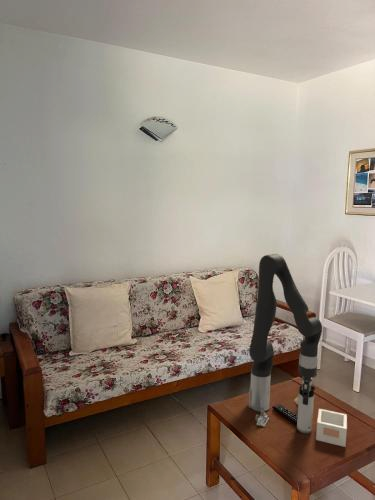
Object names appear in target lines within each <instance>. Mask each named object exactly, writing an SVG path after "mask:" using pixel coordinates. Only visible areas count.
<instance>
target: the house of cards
mask: <svg viewBox="0 0 375 500" xmlns="http://www.w3.org/2000/svg"><path fill="white" fill-rule="evenodd" d="M269 421H270V417H268V415H267V414H266V411H265V408H263V407H262V408H261V412H260V415H259V414H256V415H255V422H256V426H258V425H259V426H258V427H261V426H262V428H266V427H265V426H266V425H268V422H269Z"/></svg>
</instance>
